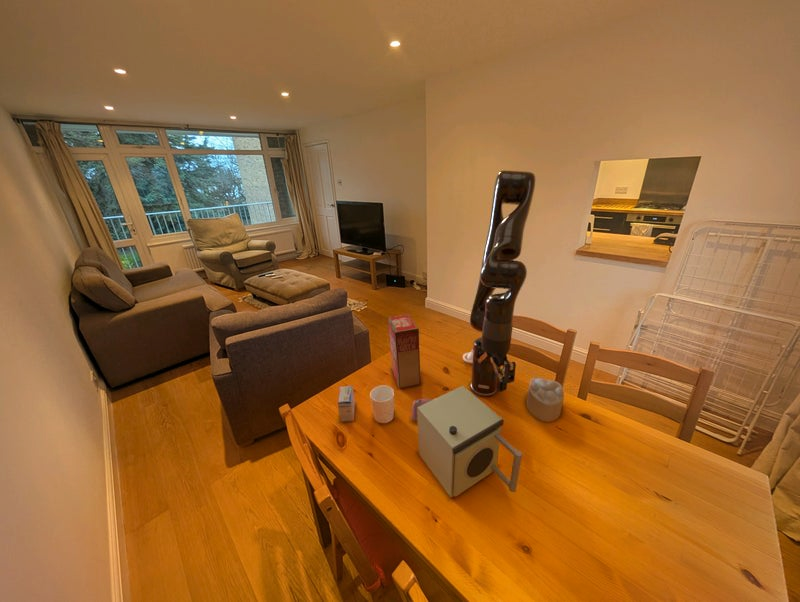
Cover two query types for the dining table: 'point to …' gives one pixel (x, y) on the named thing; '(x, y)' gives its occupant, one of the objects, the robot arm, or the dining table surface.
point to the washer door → (484, 463)
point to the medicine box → (346, 403)
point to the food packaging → (405, 350)
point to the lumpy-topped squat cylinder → (545, 399)
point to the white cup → (382, 403)
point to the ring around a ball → (468, 357)
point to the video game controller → (417, 404)
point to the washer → (452, 430)
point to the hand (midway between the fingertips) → (491, 381)
